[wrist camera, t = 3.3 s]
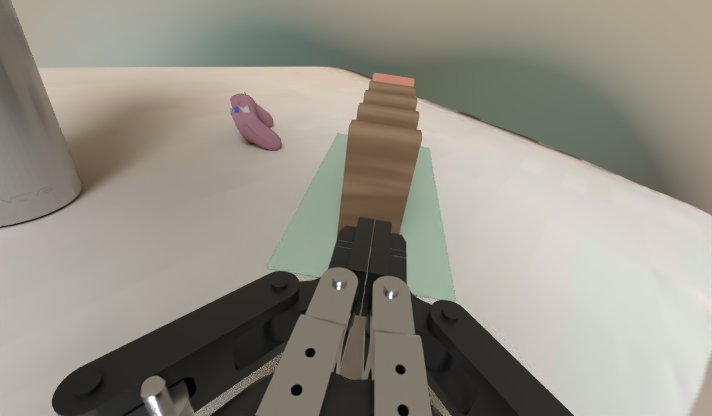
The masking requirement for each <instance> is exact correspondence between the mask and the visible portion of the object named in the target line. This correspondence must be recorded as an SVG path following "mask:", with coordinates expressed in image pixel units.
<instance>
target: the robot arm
mask: <svg viewBox="0 0 712 416" xmlns="http://www.w3.org/2000/svg"><path fill="white" fill-rule="evenodd" d="M81 189H82V184H81V181H80V179H79V176H78V174H77V171H76V168H75V166H74V163H73V160H72V158H71V155H70V152H69V150H68V147H67V144H66V141H65V139H64V136H63V134H62V131H61V128H60V126H59V123H58V121H57V118H56V115H55V113H54V110H53V108H52V105H51V102H50V100H49V97H48V95H47V92H46V89H45V87H44V84H43V82H42V79H41V77H40V74H39V71H38V69H37V66H36V64H35V61H34V58H33V56H32V53H31V51H30V48H29V45H28V43H27V40H26V38H25V35H24V33H23V30H22V27H21V25H20V22H19V20H18V17H17V14H16V12H15V9H14V8H13V5H12V2H11V0H0V226H6V225H11V224H16V223H20V222H24V221H27V220H31V219H34V218H37V217H40V216H43V215H46V214H48V213H50V212H53V211H55V210H57V209H59V208H61V207H63V206H65V205H66V204H68V203H70V202H71V201H72V200H73V199H75V198H76V197H77V196H78V194H79V193H80V192H81ZM374 220H375V219H372V218H366V217H359V219H358V223H357V227H353V226H347V225H346V226H345V227H343V228H342V229H341V230H340V231H339V234H338V237H337V240H336V244H335V247H334V251H333V254H332V257H331V261H330V264H329V267H328V270H327V271H325V272H324V273H323V275H322V276H321V277H320V278H318V279H316V280H312V281H301V282H299V280H298V278H297V277H296V276H295V275H294V274H292V273H289V272H286V271H276V272H272V273H270V274H268V275H266V276H264V277H262V278H260V279H258V280H255V281H253V282H251V283H249V284H247V285H245V286H243V287H241V288H239V289H237V290H235V291H233V292H231V293H229V294H227V295H225V296H223V297H221V298H219V299H217V300H215V301H213V302H211V303H209V304H207V305H205V306H203V307H201V308H199V309H197V310H195V311H193V312H191V313H189V314H187V315H185V316H183V317H181V318H179V319H177V320H175V321H173V322H171V323H169V324H167V325H165V326H163V327H161V328H159V329H156V330H154V331H152V332H150V333H148V334H146V335H144V336H142V337H140V338H138V339H136V340H134V341H132V342H130V343H128V344H126V345H124V346H122V347H120V348H118V349H116V350H114V351H112V352H110V353H108V354H106V355H104V356H102V357H100V358H98V359H96V360H94V361H92V362H90V363H88V364H86V365H84V366H82V367H80V368H78V369H77V370H75V371H74V372H72V373H71V374H70V375H68V376H67V377H66V378H65V379H64V380H63V381H62V382H61V383H60V385H59V386H58V387H57V389H56V391H55V393H54V395H53V398H52V406H53V409H54V411H55V412H56V413H57V415H58V416H194V413H195V412H196V411H198V410H199V409H201V408H202V407H203V406H205V405H206V404H208V403H209V402H211V401H212V400H214V399H215V398H216V397H218V396H219V395H221V394H222V393H224V392H225V391H227V390H228V389H230V388H231V387H232V386H234V385H235V384H237V383H238V382H240V381H241V380H243V379H244V378H245V377H247V376H248V375H250V374H251V373H253V372H254V371H256V370H257V369H258V368H260V367H261V366H263V365H264V364H266V363H267V362H269V361H270V360H271V359H273V358H274V357H276V356H277V355H279V354H280V353H282V352H283V351H284V352H283V354H282V357H281V359H280V361H279V363H278V366H277V368H276V370H275V372H274V373H273V374H270V375H267V376H265V377H263V378H261V379H259V380H257V381H256V382H254V383H252V384H251V385H250V386H248V387H247V388H246V389H244V390H243V391H242V392H240V393H239V394H238V395H236V396H235V397H234V398H233V399H231V400H230V401H229V402H227V403H226V404H225V405H223V406H222V407H221V408H219V409H218V410H217V411H215V412H214V413H213V414H212V415H210V416H442V414H441V413H440V412H439V411H438V410H437V409H436V408H435V407H434V406H432V405H431V404H430V398H429V391H428V385H429V386H430V387H431V389H432V390H433V391H434V393H435V394H436V395H437V397H438V398H439V399H440V401H441V402H442V403H443V405H444V406H445V407H446V409H447V410H448V411H449V413H450V414H451V415H452V416H574V415H573V414H572V413H571V412H570V411H569V410H568V409H567V408H566V407H565V406H564V405H563V404H562V403H561V402H560V401H559V400H557V399H556V398H555V397H554V396H553V395H552V394H551V393H550V392H549V391H548V390H547V389H546V388H545V387H544V386H543V385H542V384H541V383H540V382H539V381H538V380H537V379H536V378H535V377H534V376H533V375H532V374H531V373H530V372H529V371H528V370H527V369H526V368H525V367H524V366H522V365H521V364H520V363H519V362H518V361H517V360H516V359H515V358H514V357H513V356H512V355H511V354H510V353H509V352H508V351H507V350H506V349H505V348H504V347H503V346H502V345H501V344H500V343H499V342H498V341H497V340H496V339H495V338H494V337H493V336H492V335H491V334H490V333H488V332H487V331H486V330H485V329H484V328H483V327H482V326H481V325H480V324H479V323H478V322H477V321H476V320H475V319H474V318H473V317H472V316H471V315H470V314H469V313H468V312H467V311H466V310H465V309H464V308H463V307H461V306H460V305H459V304H457V303H455V302H452V301H449V300H439V301H436V302H434V303H433V304H432V305H431V304H429V303H426V302H424V301H422V300H420V299H418V298H417V297H416V296H414V295H413V294H412V293H411V291H410V289H409V287H408V285H407V259H406V257H407V252H406V251H407V248H406V241H405V239H404V237H403V236H402V234H395V233H391V228H392V222H390V221H384V220H378V219H376V222H375V228H374V233H373V227H374ZM372 234H373V239H372ZM371 241H372V245H371ZM370 248H371V251H370ZM369 255H370V257H369ZM368 262H369V264H368ZM367 269H368V271H367ZM366 275H367V278H366ZM365 281H366V285H365ZM364 287H365V293H364ZM363 293H364V300H363V307H362V314H361V316H366V324H365V329H364V336H363V363H362V380H350V379H348V378H345V377H343V376H341V375H339V373H340V370H341V366H342V362H343V358H344V354H345V350H346V347H347V343H348V339H349V335H350V330H351V328H352V326H353V323H354V317H355V315H360V310H361V304H362V298H363Z"/></svg>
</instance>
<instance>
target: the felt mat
mask: <svg viewBox="0 0 712 416" xmlns="http://www.w3.org/2000/svg"><path fill="white" fill-rule="evenodd" d="M347 140H348V135H346V134H339V133H338V134H337V136H336V138H335V140H334V141H333V143H332V145H331V147H330V149H329V151H328V153H327V155H326V156H325V158H324V160H323V162H322V164H321V166H320V168H319V170H318V171H317V173H316V175H315V177H314V179H313V181H312V183H311V184H310V186H309V188H308V190H307V192H306V194H305V196H304V198H303V199H302V201H301V203H300V205H299V207H298V209H297V211H296V212H295V214H294V216H293V218H292V220H291V222H290V224H289V226H288V227H287V229H286V231H285V233H284V235H283V237H282V239H281V241H280V242H279V244H278V246H277V248H276V250H275V252H274V254H273V255H272V257H271V259H270V261H269V263H268V265H267V268H269V269H274V270H280V271H286V272H291V273H296V274H302V275H307V276H313V277H319V278H320V277H321V276H322V275H323V273H324V272H325V271H327V270H328V267H329V264H330V261H331V257H332V254H333V251H334V247H335V244H336V240H337V232H338V223H339V214H340V204H341V195H342V186H343V177H344V168H345V158H346V149H347ZM399 234H402V236H403V237H404V239H405V241H406V248H407V251H406V252H407V257H406V259H407V285H408V287H409V289H410V291H411V293H412V294H413V295H418V296H424V297H429V298H435V299H441V300H449V301H452V302H455V293H454V287H453V282H452V276H451V270H450V264H449V259H448V253H447V247H446V242H445V236H444V230H443V224H442V219H441V213H440V207H439V201H438V196H437V190H436V184H435V179H434V173H433V167H432V161H431V156H430V150H429V148H427V147H421V146H420V149H419V153H418V158H417V162H416V166H415V170H414V174H413V179H412V183H411V187H410V191H409V195H408V200H407V204H406V208H405V212H404V216H403V221H402V225H401V229H400V233H399ZM370 251H371V248H370ZM369 257H370V255H369ZM368 264H369V262H368ZM367 271H368V269H367ZM366 278H367V275H366ZM365 285H366V281H365Z"/></svg>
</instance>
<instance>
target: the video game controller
mask: <svg viewBox="0 0 712 416" xmlns="http://www.w3.org/2000/svg"><path fill="white" fill-rule="evenodd" d="M230 100H231V104H232V107H233V110H232V109H231V108H230V109H231V115H232V117H233V120H234V122H235V124H236V126H237V128H238V129H239V130H240V132H241V133H242V135H243V136H244V138H245V139H248V140H249V142H250V143H251V144H252V143H256V144H257V145H259V146H261V147H263V148H265V149H268V150H278V149H279V148H280V147H281V144H282V143H281V139H280V138H279V136H278V135H277V134H276V133H275V132H274V131H272V130H271V129H270V127H271V126H272V125H273V119H272V117H271V115H270V114H269V113H268V112H266V111H265V110H264V109H262V108H261V107H260V106H258V105H257V104H256V103H255V101H254V100H253V99H252V98H251V97H250V96H248V95H246V93H245V92H244V94H237V95H234V96H232V97H231V99H230Z"/></svg>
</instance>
